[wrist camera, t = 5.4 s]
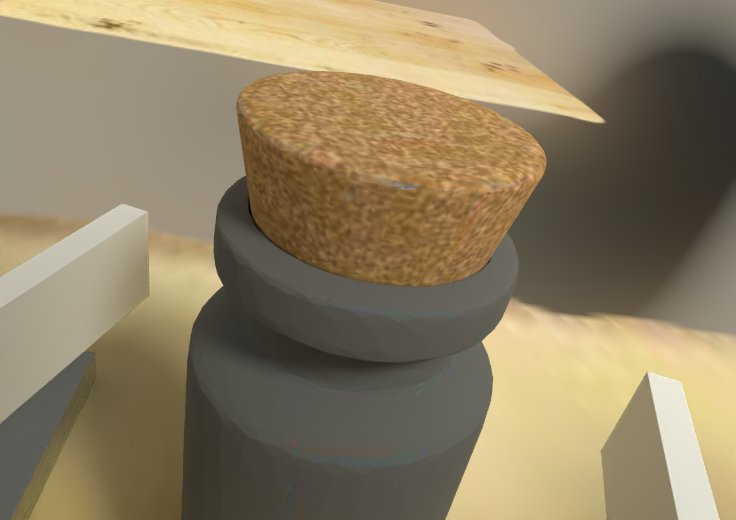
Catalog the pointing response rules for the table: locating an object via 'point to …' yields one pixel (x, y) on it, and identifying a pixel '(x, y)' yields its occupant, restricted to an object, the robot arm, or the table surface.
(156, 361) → the table surface
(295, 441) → the bottle
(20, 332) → the robot arm
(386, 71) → the table surface
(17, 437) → the collar plate
